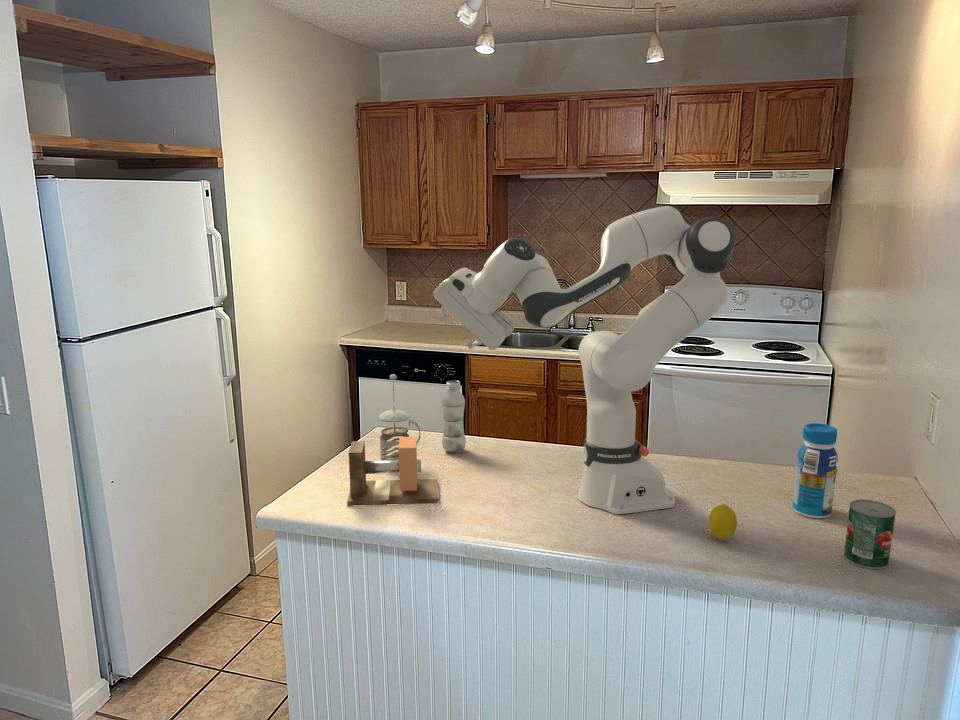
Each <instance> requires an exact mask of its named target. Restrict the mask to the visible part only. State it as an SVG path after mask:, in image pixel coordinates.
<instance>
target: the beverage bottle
mask: <svg viewBox="0 0 960 720" xmlns="http://www.w3.org/2000/svg"><path fill="white" fill-rule="evenodd" d="M802 431H803V432H802V440H803V442H804V443H802V445H800V448H799V449H798V452H797V457H798V459H797V460H796V462H795V477H794V486H793V497H792V504H791V507H792V509H793V511H794V512H795V513H796V514H799V515H800V516H803V517H806V518H811V519H826V518H829V517H830V516H831V515H832V512H833V502H834V495H835V494H834V493H835V488H836V487H835V485H836V478H837V475H838V467H837V463H838V462H839V456H838V453H837V451H836V449H835V447H834V446H835V444H836V443H837V439H838V429H837V428H836V427H835V426H833V425H829V424H825V423H817V422H812V423H806V424H805V425H803V429H802Z"/></svg>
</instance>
